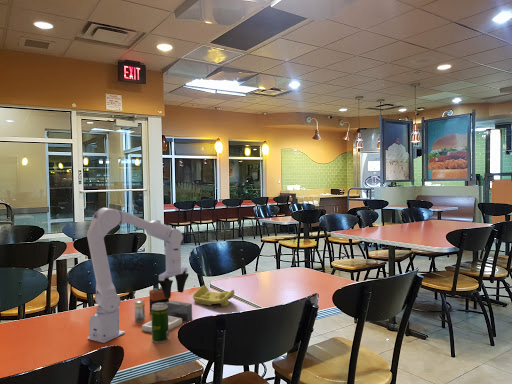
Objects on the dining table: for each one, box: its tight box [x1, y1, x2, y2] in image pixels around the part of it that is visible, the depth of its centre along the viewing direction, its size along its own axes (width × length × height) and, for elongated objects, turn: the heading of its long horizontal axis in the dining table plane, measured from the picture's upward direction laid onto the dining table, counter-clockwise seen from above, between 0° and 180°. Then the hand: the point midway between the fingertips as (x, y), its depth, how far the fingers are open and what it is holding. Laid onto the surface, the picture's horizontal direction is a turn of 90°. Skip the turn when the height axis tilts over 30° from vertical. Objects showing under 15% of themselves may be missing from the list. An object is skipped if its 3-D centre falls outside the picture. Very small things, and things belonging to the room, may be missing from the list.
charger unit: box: [166, 300, 193, 323], centre depth 149 cm, size 3×10×6 cm, turn 63°
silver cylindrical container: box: [134, 299, 146, 323], centre depth 148 cm, size 4×4×7 cm
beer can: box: [151, 302, 170, 344], centre depth 128 cm, size 5×5×12 cm
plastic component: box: [192, 285, 235, 307], centre depth 166 cm, size 20×7×10 cm
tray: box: [141, 316, 183, 334], centre depth 140 cm, size 12×9×2 cm
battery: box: [148, 286, 170, 314], centre depth 156 cm, size 4×7×10 cm, turn 126°
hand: (174, 294), depth 147 cm, fingers open, 7 cm apart
